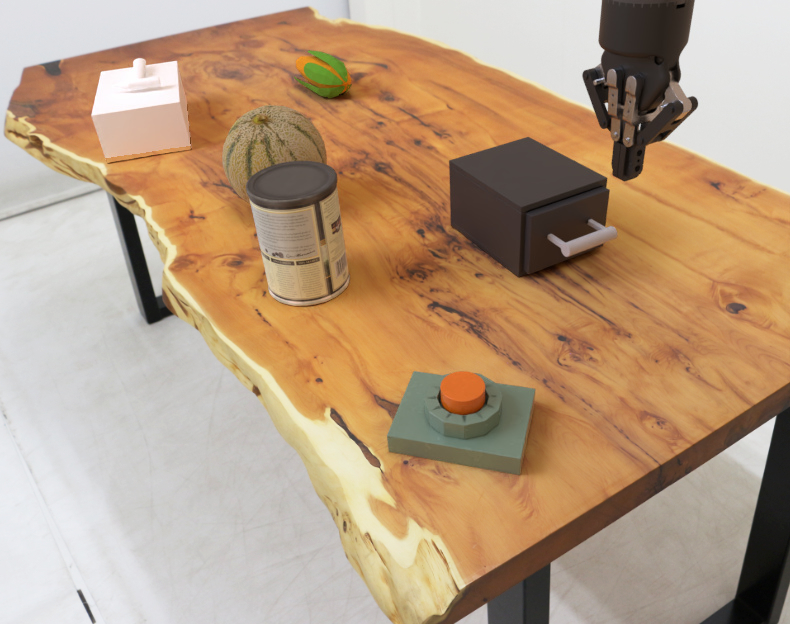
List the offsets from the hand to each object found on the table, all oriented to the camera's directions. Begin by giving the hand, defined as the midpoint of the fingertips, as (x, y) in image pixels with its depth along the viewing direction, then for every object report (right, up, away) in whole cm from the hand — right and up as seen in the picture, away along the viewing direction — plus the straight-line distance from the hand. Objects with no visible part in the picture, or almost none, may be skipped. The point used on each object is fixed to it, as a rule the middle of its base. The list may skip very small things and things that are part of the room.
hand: (625, 176), depth 70 cm
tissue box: (-69, +21, +64) cm, 96 cm away
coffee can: (-33, -10, +18) cm, 39 cm away
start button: (-17, -21, -6) cm, 28 cm away
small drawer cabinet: (-6, -3, +24) cm, 25 cm away
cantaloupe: (-39, +3, +36) cm, 54 cm away
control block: (-16, -24, -3) cm, 29 cm away
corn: (-38, +32, +76) cm, 91 cm away
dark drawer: (-4, -4, +21) cm, 21 cm away
